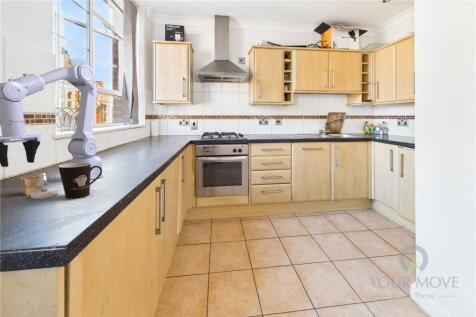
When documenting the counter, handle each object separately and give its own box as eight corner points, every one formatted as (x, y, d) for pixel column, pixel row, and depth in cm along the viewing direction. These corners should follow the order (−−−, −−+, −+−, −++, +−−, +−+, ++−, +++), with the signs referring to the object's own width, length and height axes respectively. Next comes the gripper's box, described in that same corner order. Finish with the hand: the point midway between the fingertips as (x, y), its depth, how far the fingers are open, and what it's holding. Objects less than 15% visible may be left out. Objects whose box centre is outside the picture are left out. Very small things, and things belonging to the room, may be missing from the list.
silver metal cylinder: (46, 190, 83) (44, 171, 82) (48, 191, 82) (46, 172, 81) (40, 191, 82) (37, 172, 81) (42, 192, 81) (39, 173, 80)
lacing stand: (54, 191, 87) (53, 187, 87) (61, 195, 83) (61, 190, 83) (28, 196, 82) (27, 191, 82) (35, 200, 77) (34, 195, 77)
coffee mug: (59, 201, 76) (56, 168, 75) (63, 194, 84) (60, 163, 82) (104, 196, 82) (101, 165, 80) (103, 189, 89) (101, 161, 88)
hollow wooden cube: (40, 189, 89) (39, 175, 88) (45, 192, 86) (44, 177, 85) (22, 192, 85) (20, 178, 85) (27, 195, 82) (25, 180, 82)
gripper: (28, 121, 90) (33, 160, 92) (-25, 122, 76) (-18, 167, 78) (42, 121, 88) (47, 161, 90) (-9, 122, 74) (-2, 169, 76)
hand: (18, 164), depth 84 cm, fingers open, 7 cm apart
